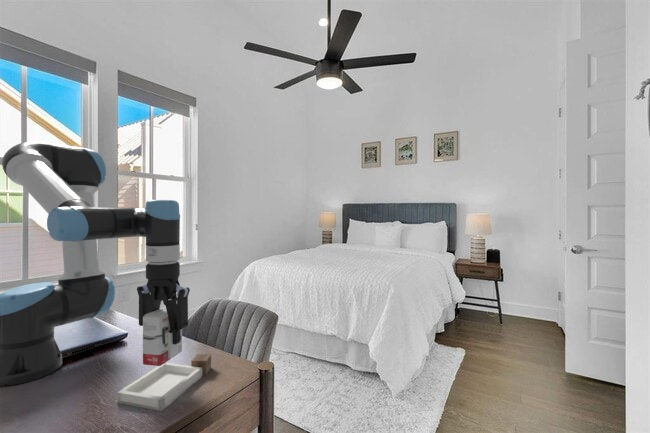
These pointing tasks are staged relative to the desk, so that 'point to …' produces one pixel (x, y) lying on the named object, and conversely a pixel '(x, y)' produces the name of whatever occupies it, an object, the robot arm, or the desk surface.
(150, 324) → the ink box
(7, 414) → the desk surface
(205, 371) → the block
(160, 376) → the parts tray
